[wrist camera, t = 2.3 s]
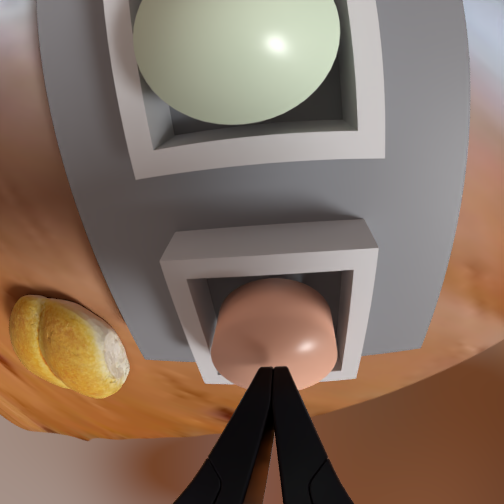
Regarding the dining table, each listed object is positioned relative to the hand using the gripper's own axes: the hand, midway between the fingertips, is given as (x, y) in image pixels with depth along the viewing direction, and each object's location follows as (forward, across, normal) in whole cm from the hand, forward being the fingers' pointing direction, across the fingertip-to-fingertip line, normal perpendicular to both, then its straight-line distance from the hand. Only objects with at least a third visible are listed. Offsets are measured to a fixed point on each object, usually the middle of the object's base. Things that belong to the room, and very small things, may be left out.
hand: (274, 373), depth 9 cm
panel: (+6, 0, -9) cm, 11 cm away
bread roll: (+6, +14, +5) cm, 16 cm away
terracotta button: (+2, 0, 0) cm, 2 cm away
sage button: (+2, 0, -9) cm, 9 cm away
